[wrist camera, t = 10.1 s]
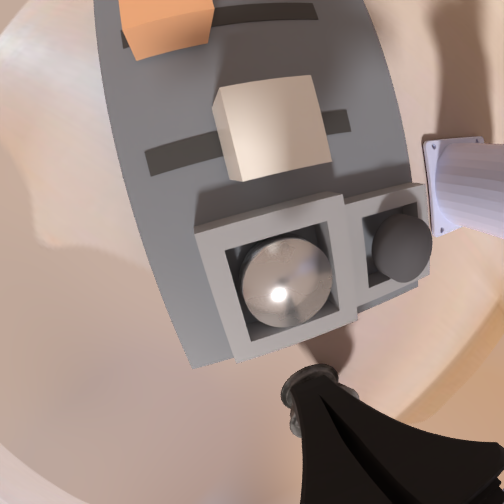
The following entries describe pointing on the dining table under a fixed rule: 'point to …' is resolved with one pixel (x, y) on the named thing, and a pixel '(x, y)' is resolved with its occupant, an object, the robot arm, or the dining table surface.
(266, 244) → the button silver
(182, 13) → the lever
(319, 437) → the robot arm
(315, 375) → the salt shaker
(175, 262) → the panel
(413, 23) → the dining table surface
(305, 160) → the lever middle
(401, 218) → the button black
